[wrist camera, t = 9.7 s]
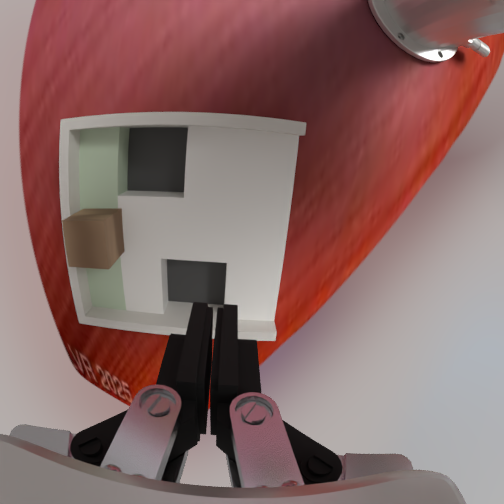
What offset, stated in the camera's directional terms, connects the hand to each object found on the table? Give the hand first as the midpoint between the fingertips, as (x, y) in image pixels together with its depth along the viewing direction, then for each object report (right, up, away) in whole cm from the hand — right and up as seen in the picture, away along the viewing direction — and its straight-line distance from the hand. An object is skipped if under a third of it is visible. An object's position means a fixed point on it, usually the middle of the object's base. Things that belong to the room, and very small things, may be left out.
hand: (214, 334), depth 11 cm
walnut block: (-12, +5, +13) cm, 19 cm away
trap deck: (-6, +6, +16) cm, 18 cm away
